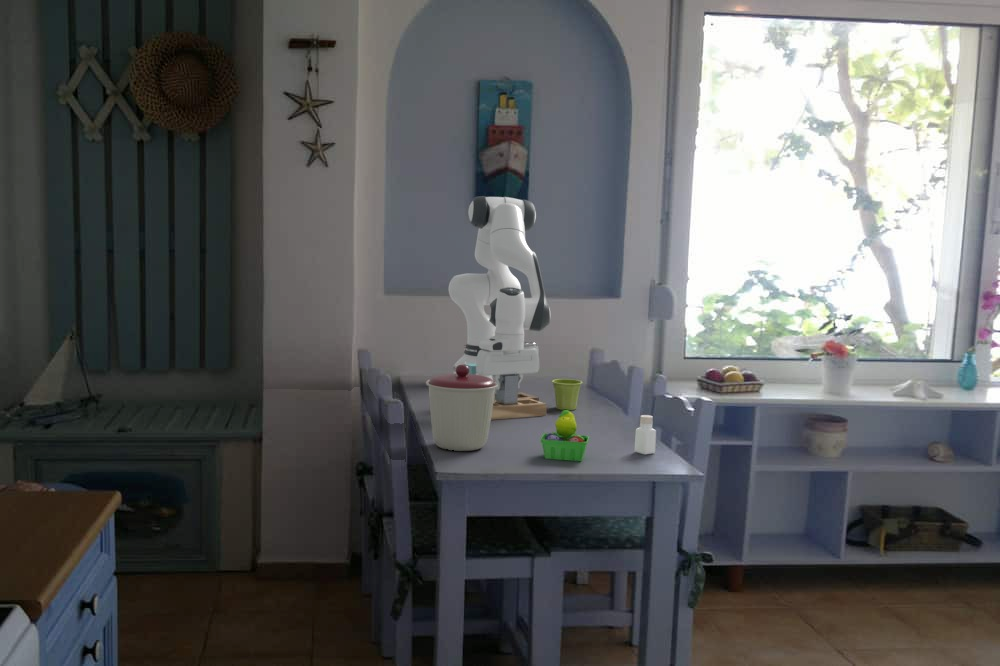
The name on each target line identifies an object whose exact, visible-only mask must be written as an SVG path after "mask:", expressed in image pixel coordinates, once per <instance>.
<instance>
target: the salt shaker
mask: <svg viewBox="0 0 1000 666" xmlns="http://www.w3.org/2000/svg"><path fill="white" fill-rule="evenodd" d="M639 418H640V419H639V420H640V421H639V423H640V424H639V427H637V428H636V429H635V439H634V453H638V454H641V455H652V454H655V452H656V444H657V443H656V440H657V430H656V429H654V428H653V423H654V421H653V419H654V417H653V416H652V415H649V414H641V415H640V417H639Z"/></svg>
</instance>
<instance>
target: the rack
mask: <svg viewBox="0 0 1000 666" xmlns="http://www.w3.org/2000/svg"><path fill="white" fill-rule="evenodd" d="M547 408H548V405H547V403H546V402H542V401H540V400H539V401H536V400H533V399H530V398H524V399H518V404H517V405H501V404H498V403H496V400H495V399H494V402H493V409H492V415H491V421H492V420H493V421H494V420H507V419H508V420H509V419H518V418H519V419H520V418H531V417H541V416H542V417H543V416H547Z"/></svg>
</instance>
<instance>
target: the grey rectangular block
mask: <svg viewBox="0 0 1000 666" xmlns="http://www.w3.org/2000/svg"><path fill="white" fill-rule="evenodd" d="M518 379H519V375H516V374H508V375H500V378H499V379H498V380H499V383H500V384H502V390H496V394H497V397H496V403H498V404H501V405H517V404H518V393H519V389H518Z"/></svg>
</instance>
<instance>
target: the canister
mask: <svg viewBox="0 0 1000 666" xmlns="http://www.w3.org/2000/svg"><path fill="white" fill-rule="evenodd" d="M469 371H470V369H469V367H468V366H467V365H458V366H457V367H456V374H454V373H444V374H438V375H434V376H433V377H431V378H430V379H428V380H426V381H425V384H426V386H427V387H428V397H429V399H428V400H429V408H430V409H429V410H430V411H429V412H430V422H431V433H432V438H433V442H434V443H435V444H436V446H437V447H438V448H440V449H443V450H446V449H448V450H449V451H452V450H454V451H453V452H470V451H476V450H479V449H482V448H483V447H484V446H485V445H486V443H487V441H488V438H489V434H490V426H491V421H492V420H491V415H492V409H493V402H494V401H495V394H496V389H495V388H497V387H498V383H496V382H494V381H493V380H492V379H491V378H488V377H485V376H481V375H474V374H469Z"/></svg>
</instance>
